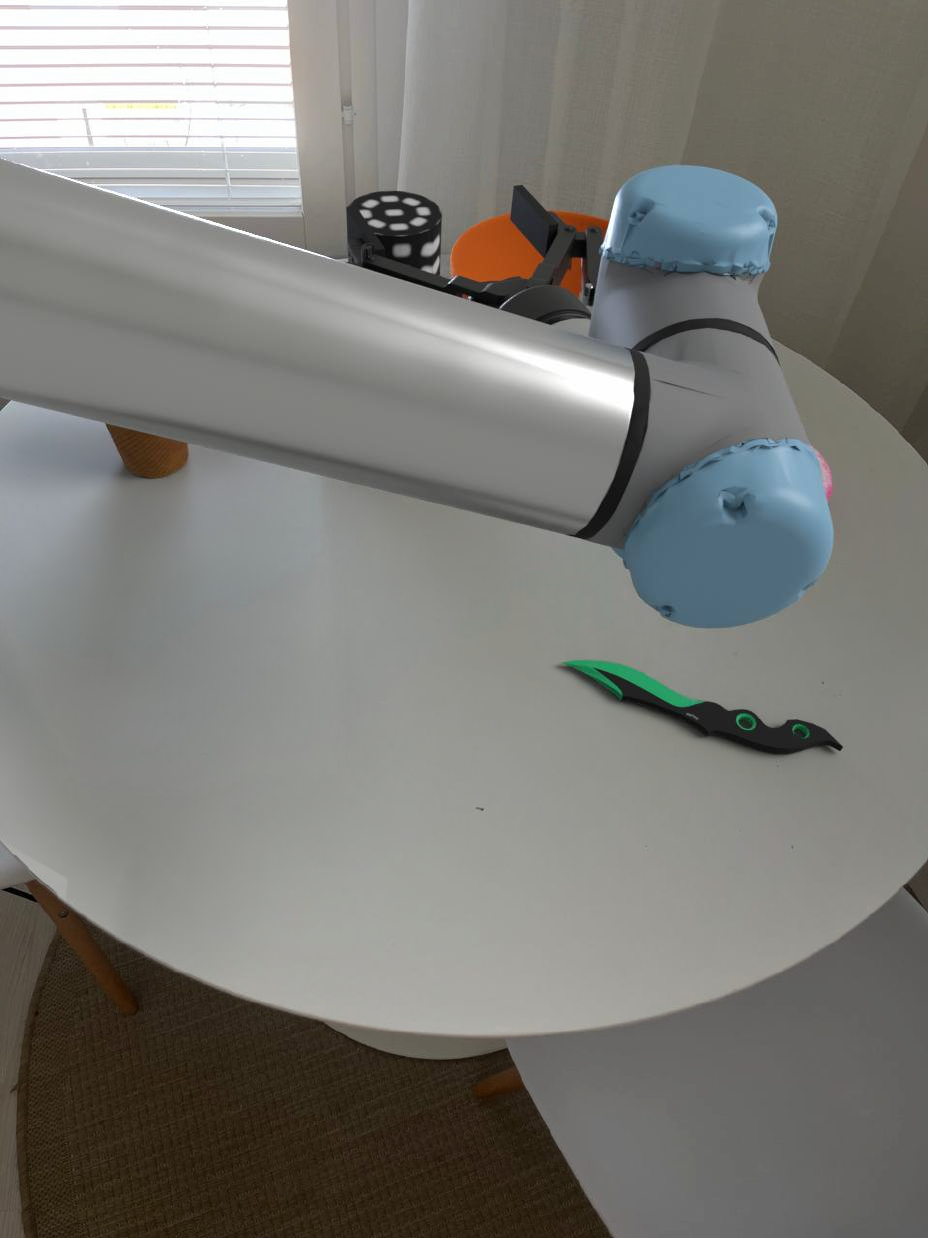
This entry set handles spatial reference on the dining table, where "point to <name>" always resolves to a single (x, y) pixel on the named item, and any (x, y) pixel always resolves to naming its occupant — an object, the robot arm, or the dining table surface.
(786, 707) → the dining table surface
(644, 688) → the knife
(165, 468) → the disposable coffee cup
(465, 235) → the bowl
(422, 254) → the white-spotted black cylinder
